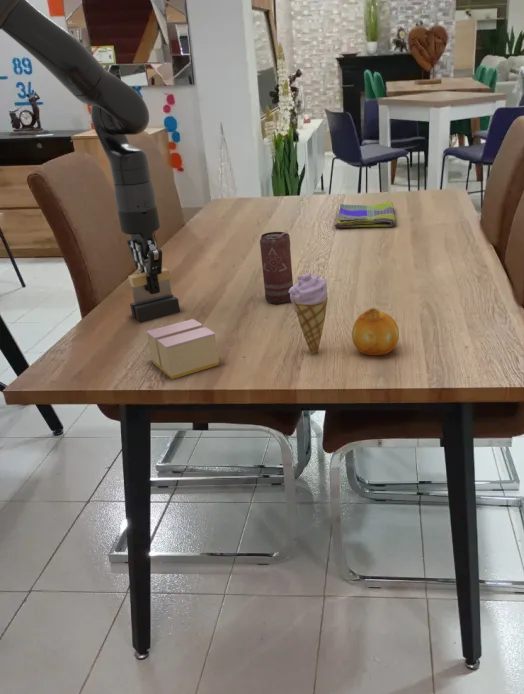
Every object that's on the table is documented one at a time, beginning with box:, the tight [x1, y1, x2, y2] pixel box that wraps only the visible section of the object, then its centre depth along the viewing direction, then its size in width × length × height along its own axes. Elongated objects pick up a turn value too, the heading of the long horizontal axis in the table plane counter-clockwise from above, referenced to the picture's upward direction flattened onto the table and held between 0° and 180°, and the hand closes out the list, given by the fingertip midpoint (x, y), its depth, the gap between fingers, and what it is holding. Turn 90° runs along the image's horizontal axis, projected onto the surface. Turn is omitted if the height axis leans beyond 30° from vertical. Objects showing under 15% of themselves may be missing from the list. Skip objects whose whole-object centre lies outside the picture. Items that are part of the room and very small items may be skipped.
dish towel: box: [334, 201, 396, 229], centre depth 206 cm, size 18×24×3 cm
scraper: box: [127, 267, 173, 306], centre depth 143 cm, size 8×2×9 cm, turn 123°
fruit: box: [351, 307, 400, 356], centre depth 121 cm, size 8×8×8 cm
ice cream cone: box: [288, 271, 328, 355], centre depth 120 cm, size 7×6×15 cm
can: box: [259, 231, 294, 305], centre depth 146 cm, size 6×6×14 cm
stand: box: [129, 294, 181, 323], centre depth 145 cm, size 9×4×3 cm, turn 123°
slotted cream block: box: [146, 318, 220, 380], centre depth 121 cm, size 9×9×6 cm
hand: (152, 291), depth 143 cm, fingers closed on scraper, 2 cm apart
